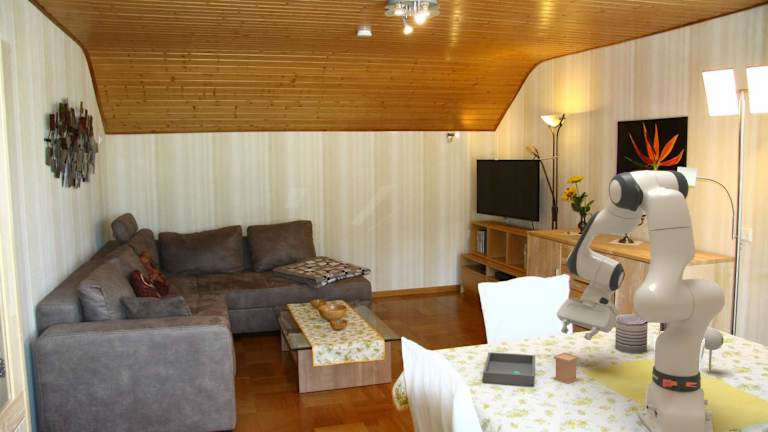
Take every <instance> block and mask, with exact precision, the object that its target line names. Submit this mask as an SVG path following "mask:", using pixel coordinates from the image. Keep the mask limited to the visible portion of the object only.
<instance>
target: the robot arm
mask: <svg viewBox="0 0 768 432" xmlns="http://www.w3.org/2000/svg"><path fill="white" fill-rule="evenodd" d="M689 188H690V187H689V181H688V179H687V178H686V176H685V175H684V173H682V172H680V171H677V170H671V169H668V170H648V169H645V170H636V171H631V172H628V171H624V172H621V173H618V174H616V175H614V176H613V177H612V178H611V180H610V182H609V185H608V194H609V195H608V198H607V201H606V203H605V204H606V205H605V207H604V208H603V209H602V210H600V211H599V210H598V211H595V213H593V214H592V215H591V217H590V218H589V219H588V222H587V223H586V225H585V226H584V228H583V230H582V232H581V234H580V236H579V238H578V240H577V242H576V244H575V246H574V247H573V249H572V250H571V252H570V253H569V255H568V256H567V258H566V264H565V265H566V268H567V269H568V271H569V273H570V274H571V275H574V276H576V277H580V278H582V279H585V280H587V281H590V283H589V285H587V286H586V288H585V289H584V291H583V293H581V294H582V295H581V296H580V298H576V297H569V298H567V299H566V300H565V301H564V303H562V304H561V306H560V308H559V309H558V310H557V312H556V316H557V318H558V320H560V321H561V322H562V327H561V329H560V332H561V333H563V334H567V333H568V332H569V328H568V326H569V325H570V324H572V325H576V326H579V327H583V328H587V329H591V330H590V331H589V332H586V333H585V335H584V336H583V337H584V339H585V340H588V341H592V338H593V337H594V336H596V335H597V334H599V332H602V333H606V334H609V332H611V331H612V330H613V329H614V326H615V325H616V317H618V316H619V313H620V311H619V309H618V307H617V306H616V305H615V304H614V302H613V301H612V296H613V294H614V293H615V292H616V291H617V290H618V289H619V288H620V287H621V285H622V283H623V281H624V278H625V277H626V273H625V272H626V271H625V269H624V266H623V265H622V263H621V262H619V261H617V260H616V259H613V258H611V257H608V256H606V255H603V254H600V253H598V252H596V251H594V250H593V249H591V248H590V246H591V245H592V243H593V241H594V239H595V236H596V235H613V236H620V235H626V234H629V233H631V232H632V231H635V230H636V229H637V228H638V226H639V224H640V223H641V221H642V218H643V215H644V213H645V215H646V221H647V223H646V224H647V231H648V241H649V253H650V261H649V268H648V271H647V274H646V277H645V279H644V281H643V282H642V283H641V285H640V286H639V287H638V288H637V289H636V290H635V293H634V295H633V298H632V301H633V303H632V304H633V308H634V311H635V313H636V315H638V316H639V317H640V318H641V319H642V320H644V321H647V322H648V323H655V324H660V323H669V322H670V323H669V325H668V327H667V328H666V330H665V331H664V332H663V333H661V334H660V333H659V334H658V335H659V336H657V337H656V340H655V344H654V347H655V348H654V365H653V367H652V371H651V375H652V377H651V380H652V381H651V383H650V384H649V385H647V386H646V387H645V398H644V399H645V400H644V409H642V410H639V411H638V412H637V416H638V417H639V419H640V420H641V422H643V424H644V425H645V426H646V428H647V429H648V430H649V432H714V428H713V427H714V425H713V418H712V411H713V410H712V409H708V408H707V409H706V408H705V406H708V404H709V400H708V399H705V390H704V389H702V385H701V383H702V377H701V371H700V357H701V356H700V355H701V347H702V345H701V343H702V340H703V337H704V334H705V332H706V330H707V328H709V326H710V324H711V323H712V322H713V320H714V318H715V317H716V316H717V315H718V314H720V313H721V312H722V311H723V308H724V307H725V303H726V297H725V293H724V291H723V289H722V287H721V286H720V285H719V284H718V283H717V282H716V281H714V280H709V279H704V278H686V279H684V278H683V277H684V272H685V269H686V267H687V266H688V264H690V263H691V262H692V261H693V260H694V259H695V256H696V248H695V240H694V233H693V223H692V218H691V214H690V210H689V206H688V202H687V201H686V200H687V197H688V195H689Z"/></svg>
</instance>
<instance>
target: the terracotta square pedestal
mask: <svg viewBox="0 0 768 432" xmlns="http://www.w3.org/2000/svg"><path fill="white" fill-rule="evenodd" d="M553 359H554V360H555V376H554V377H553V380H554V381H558V382H561V383H565V384H567V385H569V384H571V383H574V382H576V381H578V380H579V377H577V361H578V360H579V359H580V357H579V356H578V355H574V354H571V353H567V352H562V353H558V354H556V355H554V356H553Z"/></svg>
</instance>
